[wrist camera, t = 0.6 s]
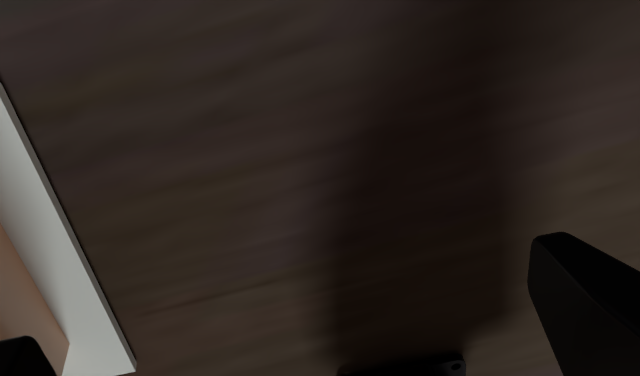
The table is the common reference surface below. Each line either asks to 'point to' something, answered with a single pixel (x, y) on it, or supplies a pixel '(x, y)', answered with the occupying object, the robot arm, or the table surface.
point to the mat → (56, 257)
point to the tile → (27, 307)
